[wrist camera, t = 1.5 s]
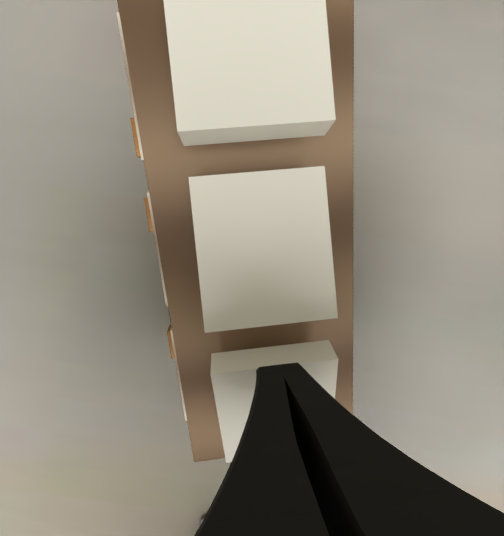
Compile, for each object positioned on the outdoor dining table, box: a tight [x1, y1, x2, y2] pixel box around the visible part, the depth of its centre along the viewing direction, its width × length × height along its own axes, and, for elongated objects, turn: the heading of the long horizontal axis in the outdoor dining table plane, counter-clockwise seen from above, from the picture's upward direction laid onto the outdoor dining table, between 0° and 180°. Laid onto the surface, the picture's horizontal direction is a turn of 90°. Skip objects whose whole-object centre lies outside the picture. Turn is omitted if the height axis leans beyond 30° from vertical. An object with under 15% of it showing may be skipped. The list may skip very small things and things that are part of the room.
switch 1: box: [163, 0, 336, 146], centre depth 8 cm, size 5×4×1 cm
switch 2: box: [188, 166, 338, 333], centre depth 10 cm, size 5×4×1 cm
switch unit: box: [116, 0, 354, 462], centre depth 13 cm, size 21×8×4 cm, turn 5°
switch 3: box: [210, 340, 338, 463], centre depth 11 cm, size 5×4×1 cm
